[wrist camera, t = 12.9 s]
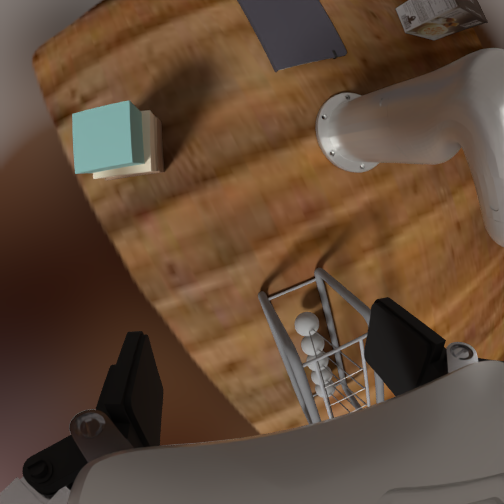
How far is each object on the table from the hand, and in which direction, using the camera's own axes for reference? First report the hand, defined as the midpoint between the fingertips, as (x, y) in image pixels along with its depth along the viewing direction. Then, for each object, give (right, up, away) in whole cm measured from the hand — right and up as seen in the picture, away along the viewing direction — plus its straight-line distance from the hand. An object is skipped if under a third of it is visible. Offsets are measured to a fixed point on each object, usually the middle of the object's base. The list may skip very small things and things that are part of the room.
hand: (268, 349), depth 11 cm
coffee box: (+32, +49, +24) cm, 63 cm away
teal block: (-14, +15, +15) cm, 25 cm away
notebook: (+4, +41, +22) cm, 47 cm away
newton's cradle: (+10, -13, +38) cm, 41 cm away
